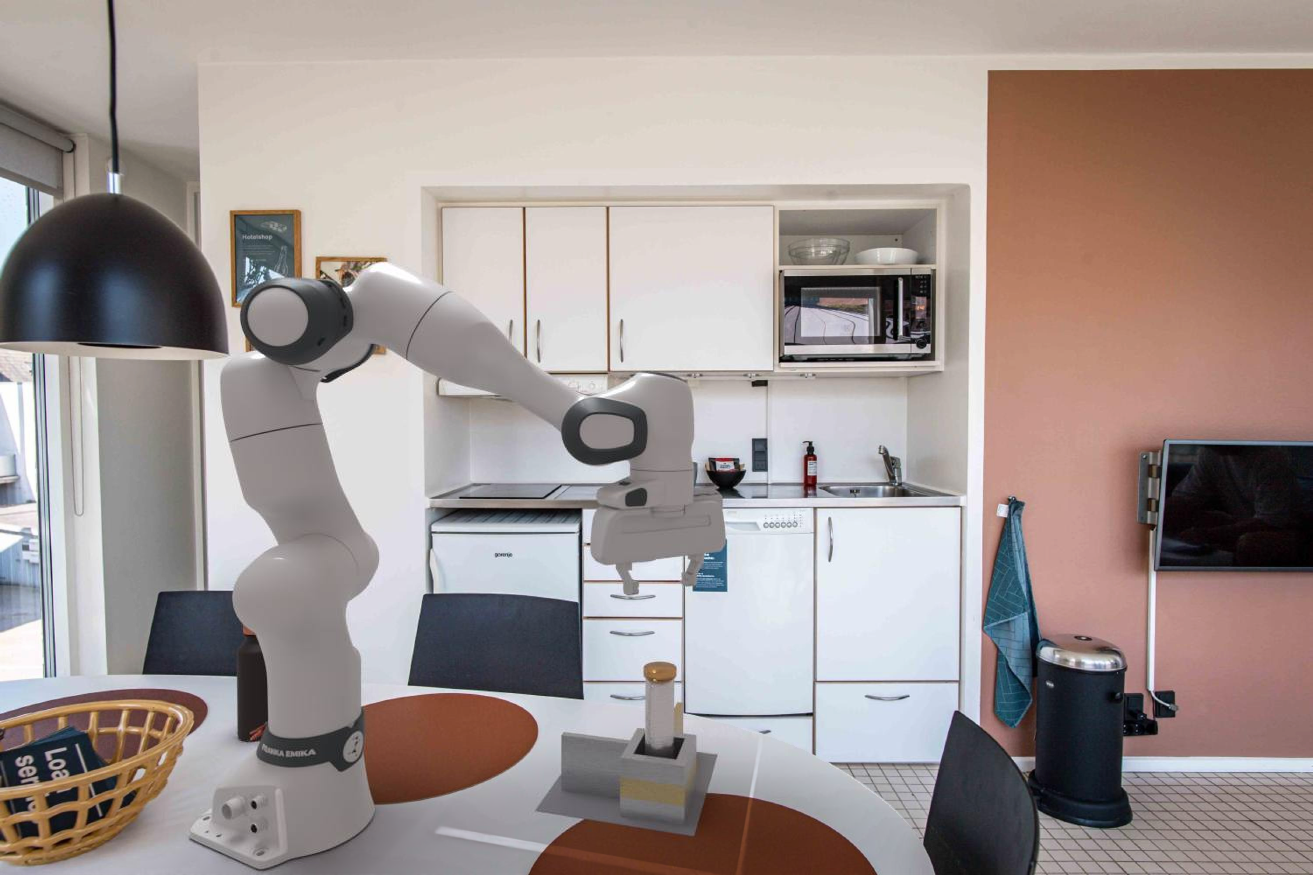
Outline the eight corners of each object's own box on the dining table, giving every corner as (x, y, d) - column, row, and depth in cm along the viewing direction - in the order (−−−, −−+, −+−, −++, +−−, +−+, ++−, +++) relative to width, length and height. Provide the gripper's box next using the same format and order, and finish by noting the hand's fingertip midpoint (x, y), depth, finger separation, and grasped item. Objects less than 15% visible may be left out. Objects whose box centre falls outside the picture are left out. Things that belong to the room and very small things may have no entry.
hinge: (550, 805, 90) (550, 748, 89) (594, 740, 108) (595, 692, 108) (684, 826, 85) (684, 766, 85) (706, 754, 103) (707, 705, 103)
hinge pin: (638, 809, 89) (639, 672, 88) (647, 791, 93) (648, 660, 93) (671, 814, 88) (672, 675, 87) (678, 795, 92) (679, 663, 92)
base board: (534, 819, 88) (534, 810, 88) (587, 744, 109) (587, 737, 109) (694, 844, 83) (694, 835, 83) (717, 761, 104) (717, 754, 104)
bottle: (246, 725, 115) (245, 613, 114) (288, 721, 116) (288, 610, 116) (230, 744, 108) (229, 624, 108) (275, 739, 110) (275, 622, 109)
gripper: (709, 484, 98) (708, 576, 98) (585, 491, 87) (584, 593, 87) (735, 488, 92) (734, 585, 92) (606, 496, 81) (606, 605, 82)
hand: (660, 589), depth 90 cm, fingers open, 8 cm apart
